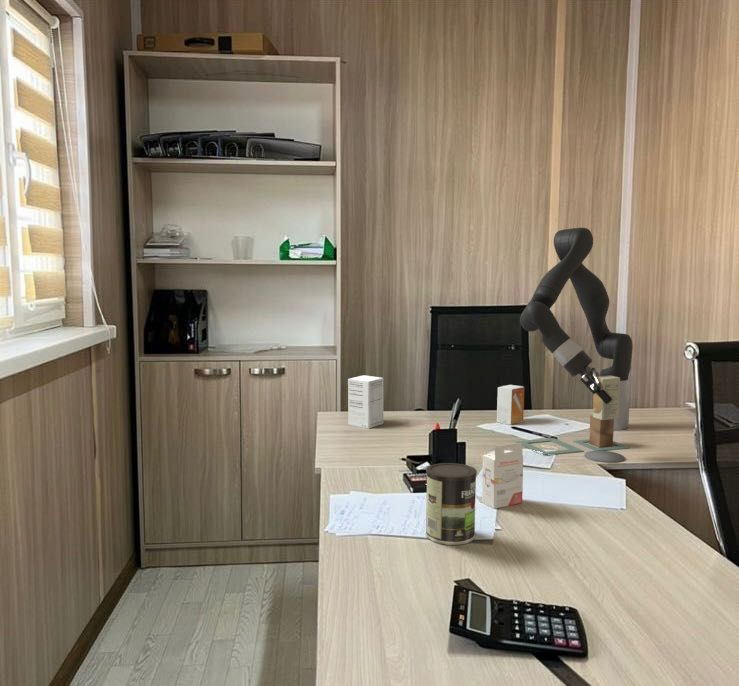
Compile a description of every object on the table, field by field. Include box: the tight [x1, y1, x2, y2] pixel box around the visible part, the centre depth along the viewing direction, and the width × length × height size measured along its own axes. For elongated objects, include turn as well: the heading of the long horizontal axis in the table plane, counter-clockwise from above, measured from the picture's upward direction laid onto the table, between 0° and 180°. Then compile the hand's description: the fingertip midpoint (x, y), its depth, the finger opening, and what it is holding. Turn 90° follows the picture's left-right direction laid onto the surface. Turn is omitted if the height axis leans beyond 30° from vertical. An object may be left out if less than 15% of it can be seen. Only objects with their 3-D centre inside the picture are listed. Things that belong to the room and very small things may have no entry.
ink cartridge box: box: [481, 442, 524, 509], centre depth 158 cm, size 9×5×15 cm, turn 118°
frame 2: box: [572, 438, 631, 451], centre depth 211 cm, size 12×12×1 cm
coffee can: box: [425, 462, 477, 546], centre depth 139 cm, size 10×10×14 cm
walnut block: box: [588, 415, 615, 448], centre depth 211 cm, size 5×5×9 cm
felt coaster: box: [584, 450, 625, 464], centre depth 198 cm, size 11×11×1 cm
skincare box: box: [592, 376, 620, 420], centre depth 196 cm, size 6×4×12 cm
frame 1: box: [515, 437, 585, 456], centre depth 209 cm, size 14×16×1 cm
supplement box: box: [347, 375, 384, 430], centre depth 237 cm, size 10×9×17 cm
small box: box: [496, 384, 525, 426], centre depth 242 cm, size 8×6×13 cm
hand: (611, 399), depth 195 cm, fingers closed on skincare box, 7 cm apart
